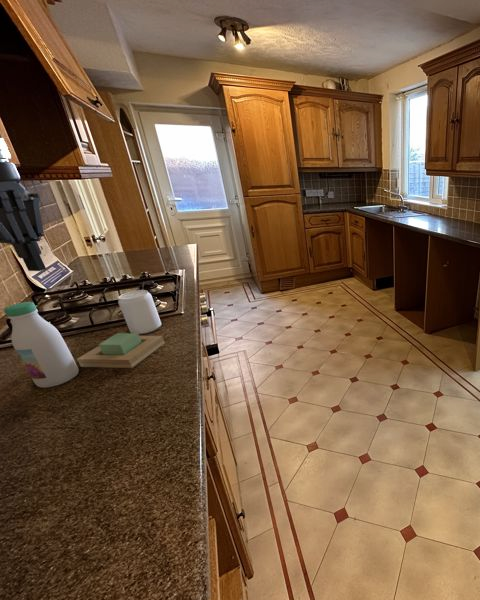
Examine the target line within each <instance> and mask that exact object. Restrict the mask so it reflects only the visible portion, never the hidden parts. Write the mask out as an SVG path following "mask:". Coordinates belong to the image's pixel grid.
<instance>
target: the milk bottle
mask: <svg viewBox="0 0 480 600" xmlns="http://www.w3.org/2000/svg"><path fill="white" fill-rule="evenodd" d="M3 312H4V314H5V315H6V316H7V319H9V320H10V321H11V324H12V329H11V338H10V339H11V344H12V346H13V348H14V351H15V352H16V354H17V356H18V358H19V359H20V361H21V362H22V364H23V366H24V367H25V370H26V371H27V373H28V374H29V376H30V378H31V380H32V381H33V383H34V384H35V386H37V387H38V388H43V389H44V388H45V389H46V388H52V387H55V386H60V385H62V384H64V383H67V382H68V381H71V380H73V379H74V378H75V377H76V376H77V375H78V374H79V371H80V369H79V367H78V365H77V363H76V360H75V359H74V357H73V355H72V352H71V351H70V348H68V345H67V343H66V341H65V340H64V338H63V336H62V334H61V333H60V332H59V330H58V329H57V328H56V327H55V326H54V324H52V323H50V322H48V321H47V320H45V319H44V317H42V316H41V315H39V313H38V312H39V310H38V309H37V305H35V303H34V302H32V301H24V302H19V303H15V304H10V305H9V306H6V307H5V308H3Z"/></svg>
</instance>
